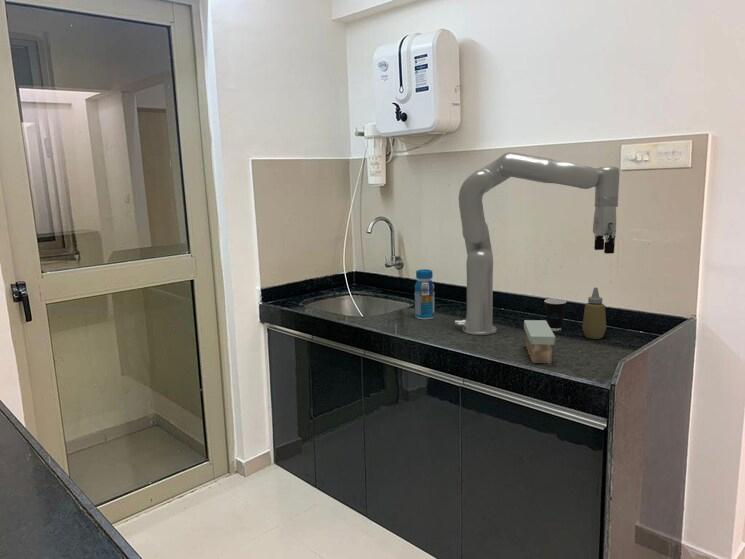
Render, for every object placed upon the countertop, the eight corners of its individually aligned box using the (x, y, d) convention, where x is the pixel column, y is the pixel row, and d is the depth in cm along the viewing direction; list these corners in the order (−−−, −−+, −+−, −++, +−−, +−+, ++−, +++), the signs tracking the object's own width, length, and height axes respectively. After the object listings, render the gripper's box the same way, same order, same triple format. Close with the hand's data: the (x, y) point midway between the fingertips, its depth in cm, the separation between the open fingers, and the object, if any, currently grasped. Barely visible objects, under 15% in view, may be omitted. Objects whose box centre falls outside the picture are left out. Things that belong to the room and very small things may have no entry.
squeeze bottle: (577, 334, 205) (579, 286, 202) (599, 333, 205) (601, 285, 202) (588, 340, 197) (590, 290, 194) (610, 339, 198) (612, 289, 194)
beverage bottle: (410, 318, 236) (409, 271, 232) (422, 314, 242) (421, 268, 239) (427, 321, 230) (426, 272, 227) (438, 316, 237) (438, 270, 233)
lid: (530, 344, 173) (530, 336, 173) (523, 327, 192) (524, 320, 192) (555, 344, 172) (555, 336, 171) (545, 327, 191) (545, 320, 191)
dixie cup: (551, 333, 208) (552, 304, 206) (539, 327, 215) (540, 299, 213) (570, 330, 210) (570, 302, 208) (557, 325, 218) (558, 297, 216)
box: (532, 363, 175) (532, 338, 173) (525, 346, 193) (526, 323, 191) (551, 364, 174) (552, 339, 172) (543, 346, 192) (543, 323, 190)
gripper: (587, 202, 205) (585, 248, 208) (604, 204, 188) (601, 255, 191) (608, 201, 205) (605, 248, 208) (627, 203, 188) (624, 254, 191)
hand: (603, 251), depth 199 cm, fingers open, 9 cm apart
